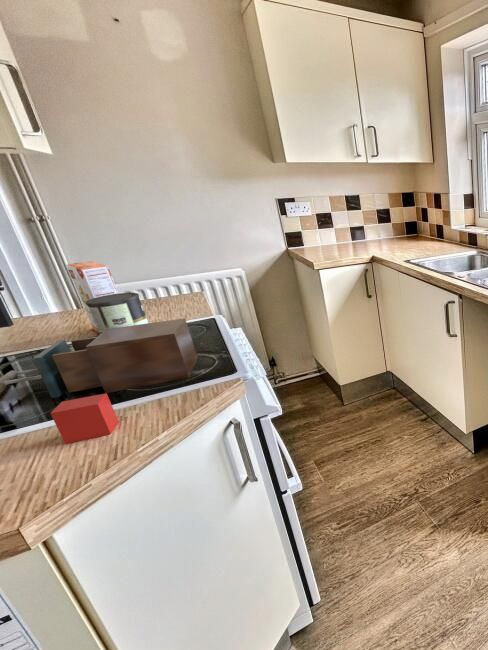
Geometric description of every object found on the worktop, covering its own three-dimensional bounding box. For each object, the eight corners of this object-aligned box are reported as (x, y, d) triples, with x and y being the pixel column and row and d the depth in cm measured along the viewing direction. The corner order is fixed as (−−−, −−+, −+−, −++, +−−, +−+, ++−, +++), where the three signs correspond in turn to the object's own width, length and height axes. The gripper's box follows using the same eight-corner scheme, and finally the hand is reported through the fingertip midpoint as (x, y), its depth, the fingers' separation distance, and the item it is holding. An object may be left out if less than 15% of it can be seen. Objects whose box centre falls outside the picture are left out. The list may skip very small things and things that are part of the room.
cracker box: (93, 334, 125) (64, 264, 118) (119, 328, 130) (93, 260, 122) (108, 342, 118) (78, 268, 110) (135, 335, 123) (108, 264, 115)
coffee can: (143, 339, 120) (125, 291, 114) (164, 344, 115) (146, 294, 110) (98, 352, 111) (76, 300, 106) (119, 358, 107) (97, 304, 102)
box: (65, 444, 71) (50, 413, 69) (75, 431, 75) (61, 401, 73) (110, 434, 74) (97, 404, 71) (119, 422, 77) (106, 393, 75)
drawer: (-6, 408, 81) (-28, 367, 78) (24, 385, 91) (5, 348, 88) (135, 382, 91) (120, 345, 87) (149, 364, 100) (136, 329, 97)
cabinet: (105, 393, 88) (85, 346, 84) (123, 371, 99) (106, 329, 95) (189, 377, 94) (174, 333, 91) (198, 358, 105) (185, 318, 101)
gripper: (-57, 196, 68) (11, 332, 77) (-12, 195, 79) (44, 314, 88) (-127, 199, 65) (-48, 340, 74) (-70, 197, 76) (-7, 321, 85)
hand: (2, 326), depth 81 cm, fingers closed
